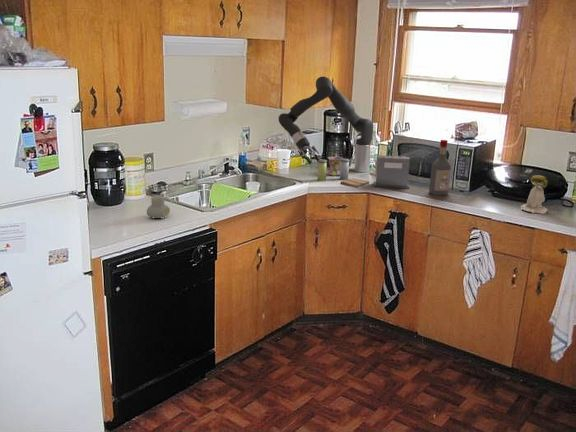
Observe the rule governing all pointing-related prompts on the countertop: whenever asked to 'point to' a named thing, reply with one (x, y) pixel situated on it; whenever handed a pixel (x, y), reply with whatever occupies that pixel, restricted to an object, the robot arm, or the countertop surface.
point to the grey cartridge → (344, 169)
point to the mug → (334, 165)
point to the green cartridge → (322, 170)
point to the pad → (354, 182)
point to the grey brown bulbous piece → (157, 207)
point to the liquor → (440, 173)
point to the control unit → (392, 171)
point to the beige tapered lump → (536, 195)
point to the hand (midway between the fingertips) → (315, 162)
